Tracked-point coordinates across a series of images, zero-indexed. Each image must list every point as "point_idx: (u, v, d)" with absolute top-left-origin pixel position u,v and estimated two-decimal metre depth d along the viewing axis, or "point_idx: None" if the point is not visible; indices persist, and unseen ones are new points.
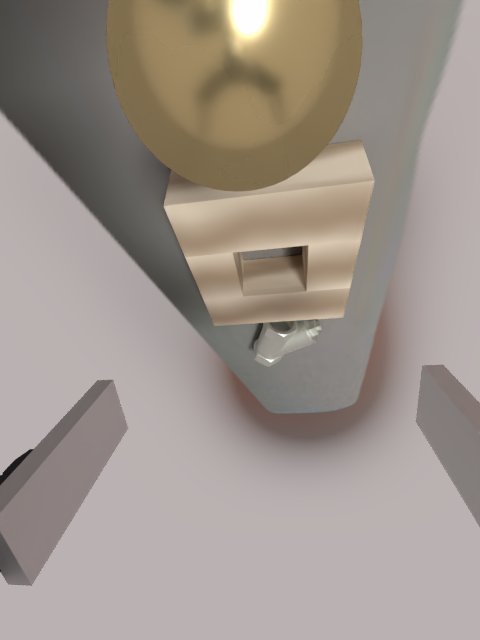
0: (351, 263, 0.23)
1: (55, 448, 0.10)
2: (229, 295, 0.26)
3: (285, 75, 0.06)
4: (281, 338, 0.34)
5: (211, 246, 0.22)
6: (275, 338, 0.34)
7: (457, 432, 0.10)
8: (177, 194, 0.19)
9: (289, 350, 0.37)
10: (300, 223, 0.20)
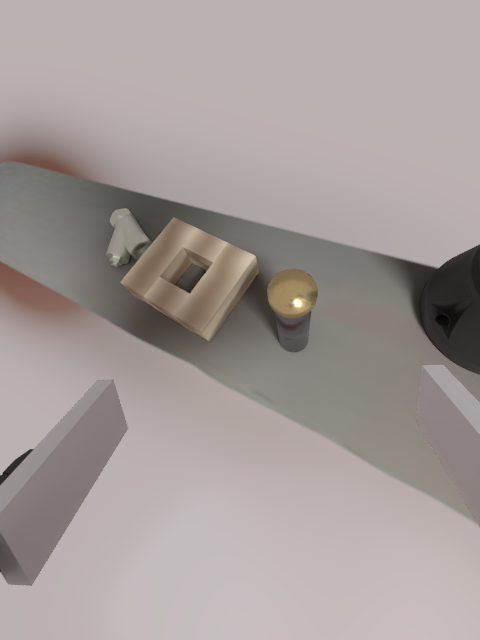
0: (161, 305, 0.40)
1: (55, 448, 0.10)
2: (189, 241, 0.43)
3: (287, 299, 0.28)
4: (135, 240, 0.45)
5: (223, 257, 0.41)
6: (137, 237, 0.46)
7: (457, 432, 0.10)
8: (253, 264, 0.41)
9: (117, 234, 0.47)
10: (204, 296, 0.40)
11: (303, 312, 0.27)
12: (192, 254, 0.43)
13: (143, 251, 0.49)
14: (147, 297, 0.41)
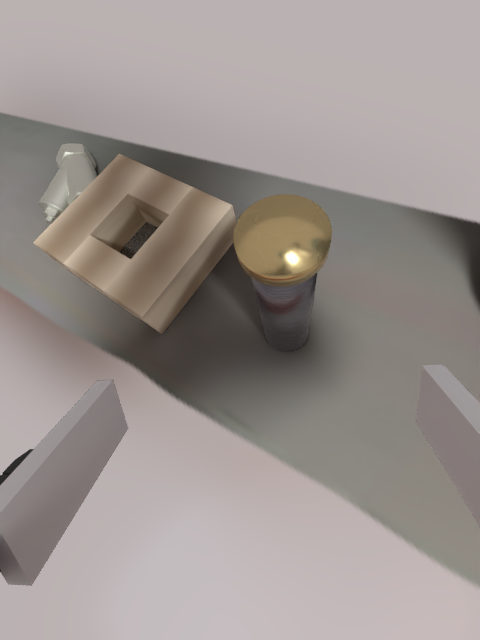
0: (87, 275, 0.26)
1: (55, 448, 0.10)
2: (137, 186, 0.29)
3: (270, 247, 0.14)
4: (78, 188, 0.31)
5: (185, 207, 0.28)
6: (83, 185, 0.32)
7: (457, 432, 0.10)
8: (229, 219, 0.28)
9: (57, 177, 0.33)
10: (151, 264, 0.26)
11: (302, 273, 0.14)
12: (142, 205, 0.30)
13: None
14: (68, 264, 0.27)
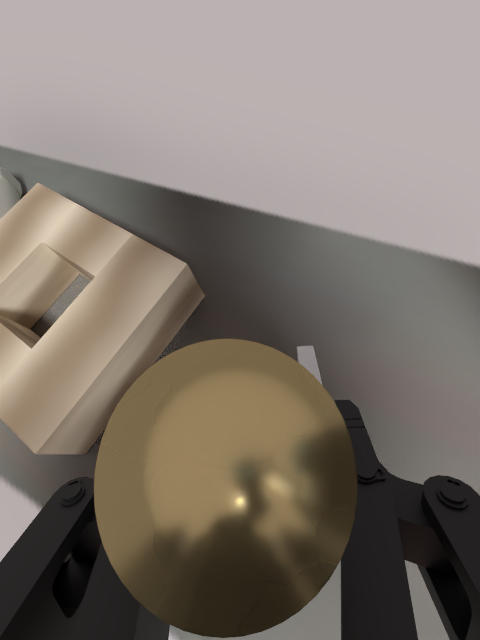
0: None
1: None
2: (56, 231, 0.20)
3: (186, 518, 0.05)
4: None
5: (119, 265, 0.19)
6: None
7: None
8: (184, 282, 0.19)
9: None
10: (60, 358, 0.17)
11: (273, 620, 0.05)
12: (63, 258, 0.21)
13: None
14: None
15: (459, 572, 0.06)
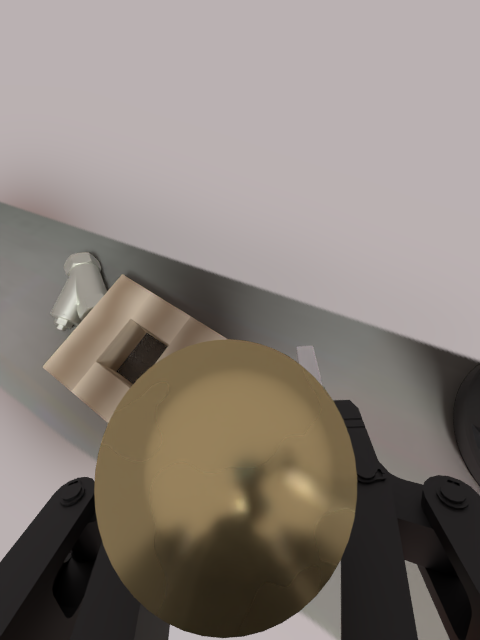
0: (94, 406, 0.29)
1: None
2: (139, 311, 0.32)
3: (187, 518, 0.05)
4: (87, 303, 0.34)
5: (183, 337, 0.30)
6: (92, 298, 0.34)
7: None
8: None
9: (67, 289, 0.35)
10: None
11: (272, 621, 0.05)
12: (144, 328, 0.32)
13: None
14: (76, 393, 0.30)
15: (459, 572, 0.06)
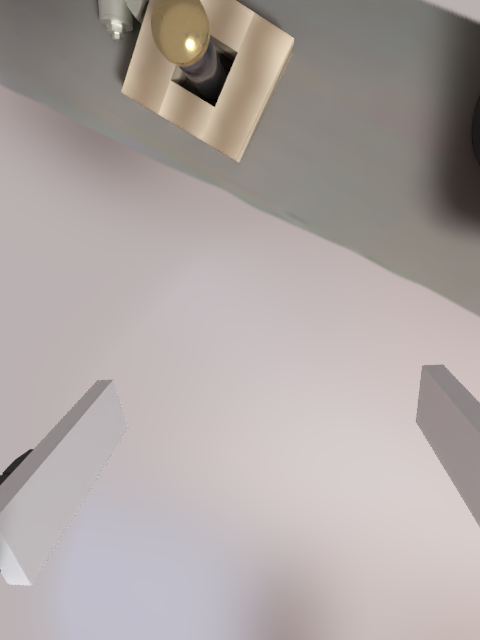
0: (183, 126, 0.35)
1: (55, 448, 0.10)
2: None
3: (174, 40, 0.24)
4: None
5: (251, 41, 0.31)
6: None
7: (457, 432, 0.10)
8: (289, 51, 0.32)
9: None
10: (233, 111, 0.34)
11: (194, 58, 0.25)
12: None
13: None
14: (163, 115, 0.34)
15: None
